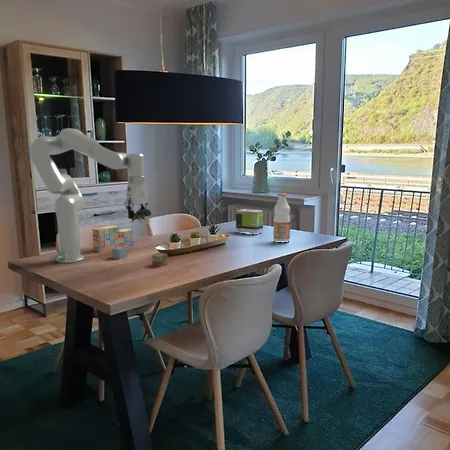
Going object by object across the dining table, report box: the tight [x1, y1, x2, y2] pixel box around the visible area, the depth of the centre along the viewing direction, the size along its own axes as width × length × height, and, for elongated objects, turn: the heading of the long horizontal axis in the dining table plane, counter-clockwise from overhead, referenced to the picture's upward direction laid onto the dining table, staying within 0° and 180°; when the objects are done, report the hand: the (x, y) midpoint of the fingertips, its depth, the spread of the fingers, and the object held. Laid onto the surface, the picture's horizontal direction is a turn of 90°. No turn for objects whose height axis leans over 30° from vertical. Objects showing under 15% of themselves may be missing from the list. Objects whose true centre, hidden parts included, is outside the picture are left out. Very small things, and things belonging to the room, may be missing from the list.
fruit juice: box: [272, 193, 291, 242], centre depth 254 cm, size 9×9×28 cm
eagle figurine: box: [131, 208, 152, 223], centre depth 211 cm, size 8×7×9 cm
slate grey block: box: [111, 247, 128, 260], centre depth 219 cm, size 5×5×5 cm
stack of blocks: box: [92, 225, 134, 253], centre depth 239 cm, size 21×6×12 cm, turn 138°
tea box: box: [235, 208, 264, 233], centre depth 282 cm, size 15×10×15 cm, turn 60°
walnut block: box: [151, 252, 169, 268], centre depth 206 cm, size 5×5×5 cm
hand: (137, 217), depth 209 cm, fingers closed on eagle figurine, 7 cm apart
